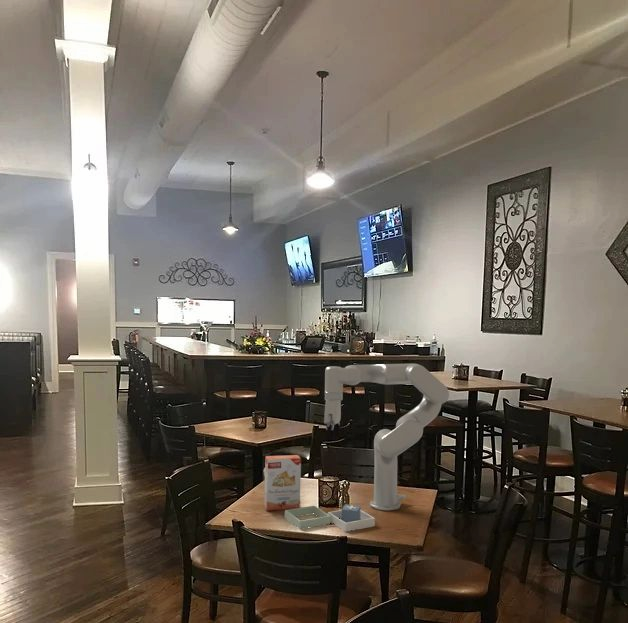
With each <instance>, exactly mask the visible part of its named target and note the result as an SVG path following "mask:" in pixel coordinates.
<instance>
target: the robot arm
mask: <svg viewBox="0 0 628 623" xmlns="http://www.w3.org/2000/svg"><path fill="white" fill-rule="evenodd" d="M324 371H325V372H324V401H325V406H324V420H323V423H324V424H325V425H326V427H325V439H326V440H327V441H328V440H330V441H333V440H335V436H340V432H341V423H340V422H341V418H342V416H341V415H342V411H341V410H342V406H341V405H342V403H341V402H342V401H343V399H344V398H343V396H344V395H343V394H344V385H350V386H357V385H358V384H360V383H374V384H375V383H376V384H380V385H411V384H412V385H413V386H414V387H415V388H416V389H417V390H418V391H419V392H420V393H421V394H423V397H422V400H421V401H420V403H419V404H418V405H417V406H415V407H414V408H413V409H411V410H410V411H408V412H407V413H406V414H404V415H402V416H401V417H399V419H397V421H396V424H395V428H394V429H392V430H391V429H388V428H383V429H379V431H378V432H377V433H376V434H375V435H374V439H373V451H374V452H373V453H374V462H373V463H374V468H373V472H374V474H373V499H371V500H370V501H369V505H370V507H372V509H376V510H380V511H395V510H396V511H397V510H399V509H400V508H401V502H400V501H402V500H406V499H407V495H406V494H400V493H398V456H399V455H401V454H402V453H403V452H405V451H407V450H408V449H409V448H410V447H412V446H413V445H415V444H416V443H418V442H419V441H420V439H421V438H422V437H423V433H424V428H425V427H426V426H428V425H429V424H430V423H431V422H432V421H434V420H435V419H436V418H437V417H438V415H439V413H440V411H441V408H442V404H445V403H446V402H447V401H448V400H449V398H450V392H449V389H448V387H447V386H446V385H445V384H444V383H443V382H442V381H440V379H438V378H437V377H436V376H434V374H432V373H431V372H430V371H429V370H428V369H426V367H424V366H423V365H421V364H418V363H414V362H413V363H383V364H382V363H381V364H350V365H347V366H345V367H341V366H335V365H334V366H331V365H330V366H326V368H325V369H324Z"/></svg>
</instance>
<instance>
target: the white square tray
mask: <svg viewBox="0 0 628 623" xmlns="http://www.w3.org/2000/svg"><path fill="white" fill-rule="evenodd" d="M327 514H328V515H330V516H331V522H332V523H331V524H333V523H334V524H335V525H334V524H333V525H334V526H336V527H337V526H338V527H337V528H339V529H340V528H341V529H340V530H342V531H343V532H346V533H347V532H351V530H352V531H357V530H362V529H367V528H372V527H375V526H376V524H375V523H376V518H375V517H374V516H372V515H370V514H368V513H367V512H366V511H363V510H361V509H360V520H358V521H353V522H347V523H346V522H344V521H342V520H341V519H342V509H339V510H333V511H327ZM339 518H340V519H339ZM356 529H357V530H356Z"/></svg>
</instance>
